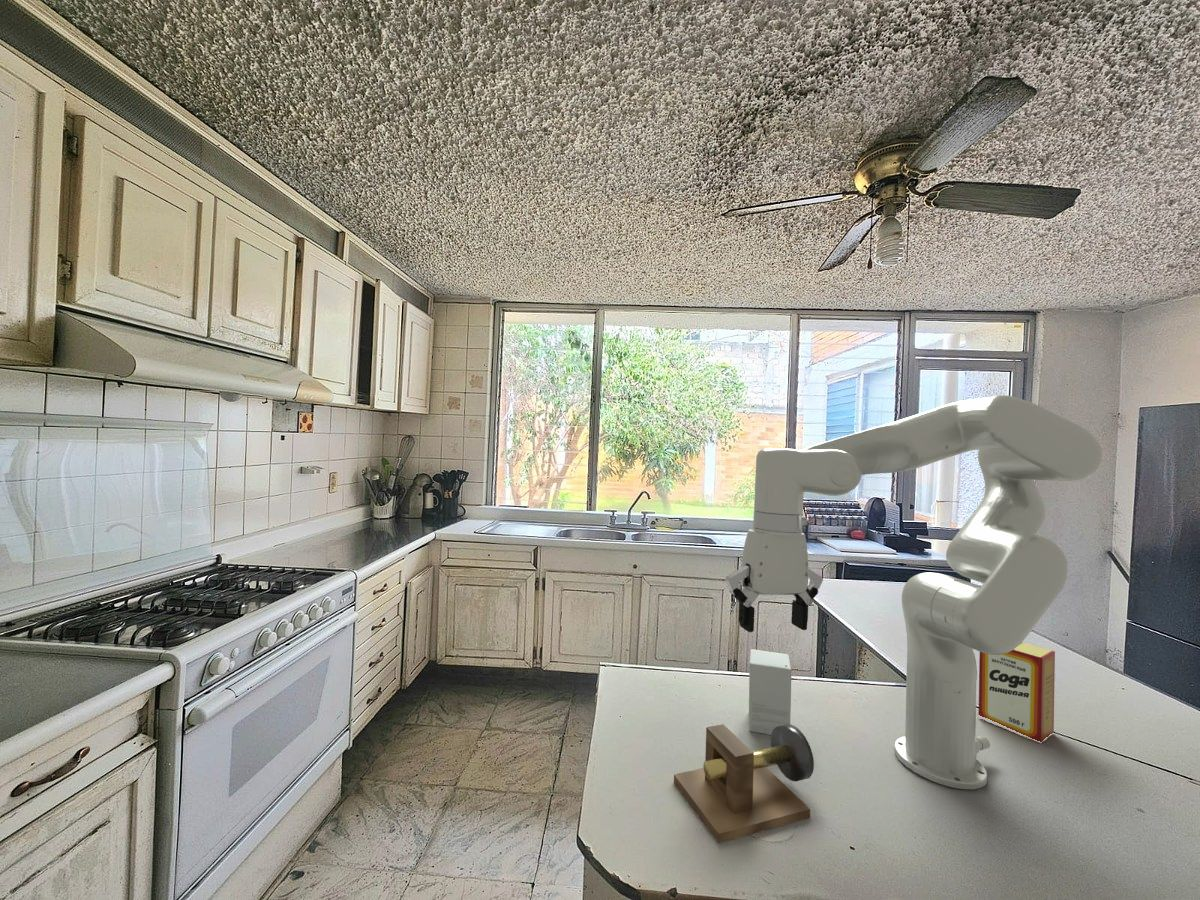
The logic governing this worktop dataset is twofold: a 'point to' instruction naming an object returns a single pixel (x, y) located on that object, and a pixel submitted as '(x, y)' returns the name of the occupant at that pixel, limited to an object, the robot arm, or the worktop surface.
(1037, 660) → the baking soda box
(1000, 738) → the worktop surface
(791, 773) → the brass peg with disc
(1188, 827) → the worktop surface
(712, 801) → the eye post
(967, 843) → the worktop surface
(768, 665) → the supplement box
